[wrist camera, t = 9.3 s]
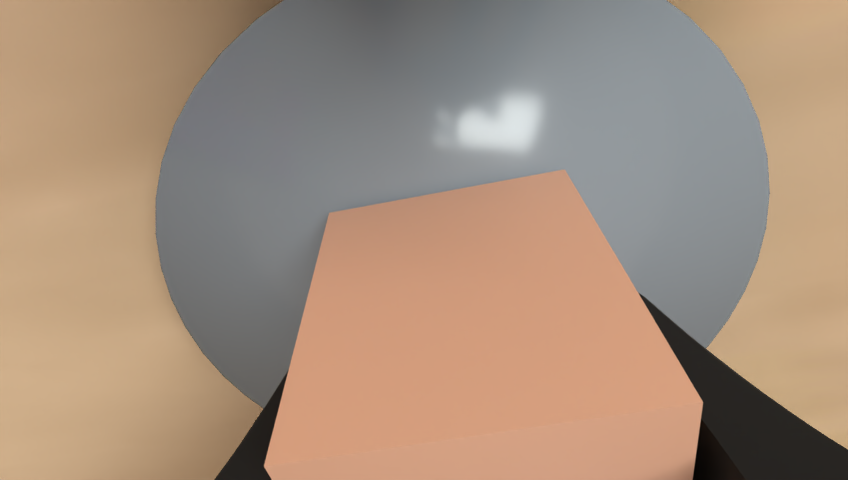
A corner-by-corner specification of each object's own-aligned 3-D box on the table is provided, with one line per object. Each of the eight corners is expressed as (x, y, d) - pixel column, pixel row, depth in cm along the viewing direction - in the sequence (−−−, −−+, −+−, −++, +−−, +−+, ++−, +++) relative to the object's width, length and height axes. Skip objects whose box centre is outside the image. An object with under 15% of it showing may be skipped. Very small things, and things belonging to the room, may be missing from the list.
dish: (711, 392, 17) (730, 424, 16) (287, 455, 18) (280, 488, 17) (787, -142, 9) (833, -148, 8) (54, 26, 10) (15, 39, 9)
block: (574, 344, 13) (674, 610, 8) (383, 374, 14) (369, 645, 9) (564, 169, 11) (703, 402, 6) (329, 212, 11) (263, 466, 6)
